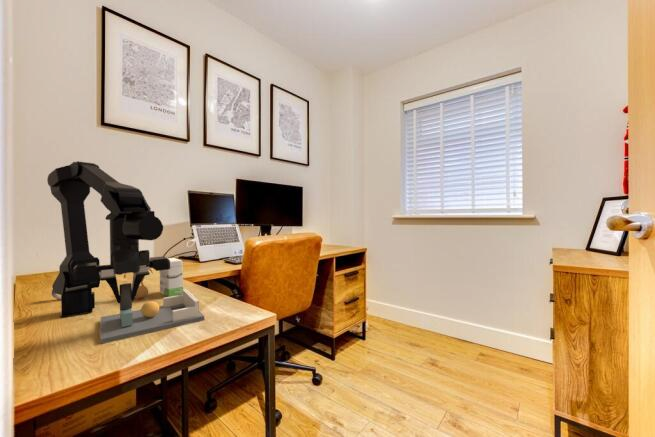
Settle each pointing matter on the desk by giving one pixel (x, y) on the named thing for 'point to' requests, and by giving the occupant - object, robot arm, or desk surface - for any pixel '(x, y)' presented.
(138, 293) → the figurine
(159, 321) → the board
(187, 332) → the desk surface
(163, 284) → the ink box
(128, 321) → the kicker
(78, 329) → the desk surface
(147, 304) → the ball
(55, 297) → the wristwatch
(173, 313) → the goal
